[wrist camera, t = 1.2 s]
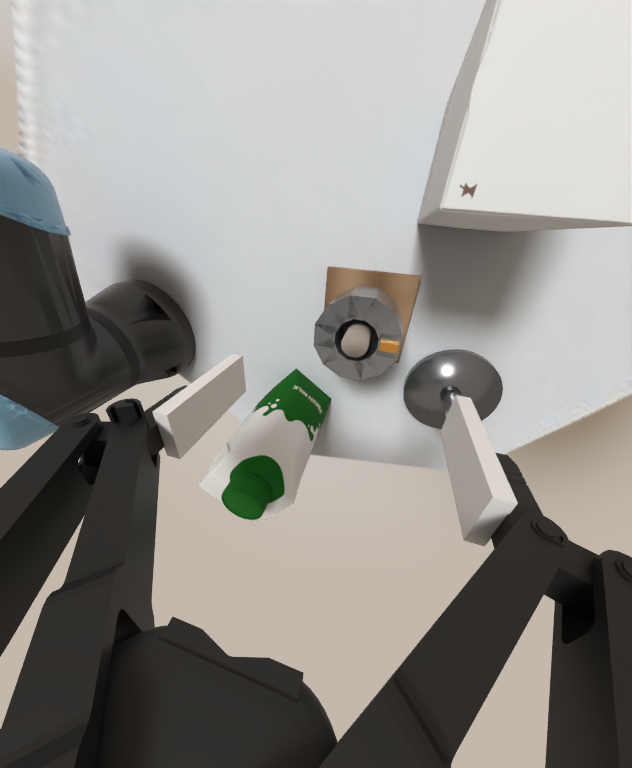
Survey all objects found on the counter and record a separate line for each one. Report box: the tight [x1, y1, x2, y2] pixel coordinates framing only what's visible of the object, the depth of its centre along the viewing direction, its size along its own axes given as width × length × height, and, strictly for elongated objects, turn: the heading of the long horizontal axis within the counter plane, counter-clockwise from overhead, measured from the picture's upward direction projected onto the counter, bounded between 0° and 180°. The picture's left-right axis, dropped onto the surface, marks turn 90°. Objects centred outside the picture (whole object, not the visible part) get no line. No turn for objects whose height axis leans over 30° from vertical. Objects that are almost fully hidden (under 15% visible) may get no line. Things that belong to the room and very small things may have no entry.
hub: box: [404, 350, 503, 429], centre depth 30 cm, size 11×11×8 cm
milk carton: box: [199, 369, 331, 526], centre depth 32 cm, size 9×9×20 cm
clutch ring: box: [314, 285, 403, 380], centre depth 26 cm, size 8×8×5 cm
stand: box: [324, 267, 420, 363], centre depth 27 cm, size 10×10×10 cm
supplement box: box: [418, 0, 632, 232], centre depth 16 cm, size 9×9×15 cm
